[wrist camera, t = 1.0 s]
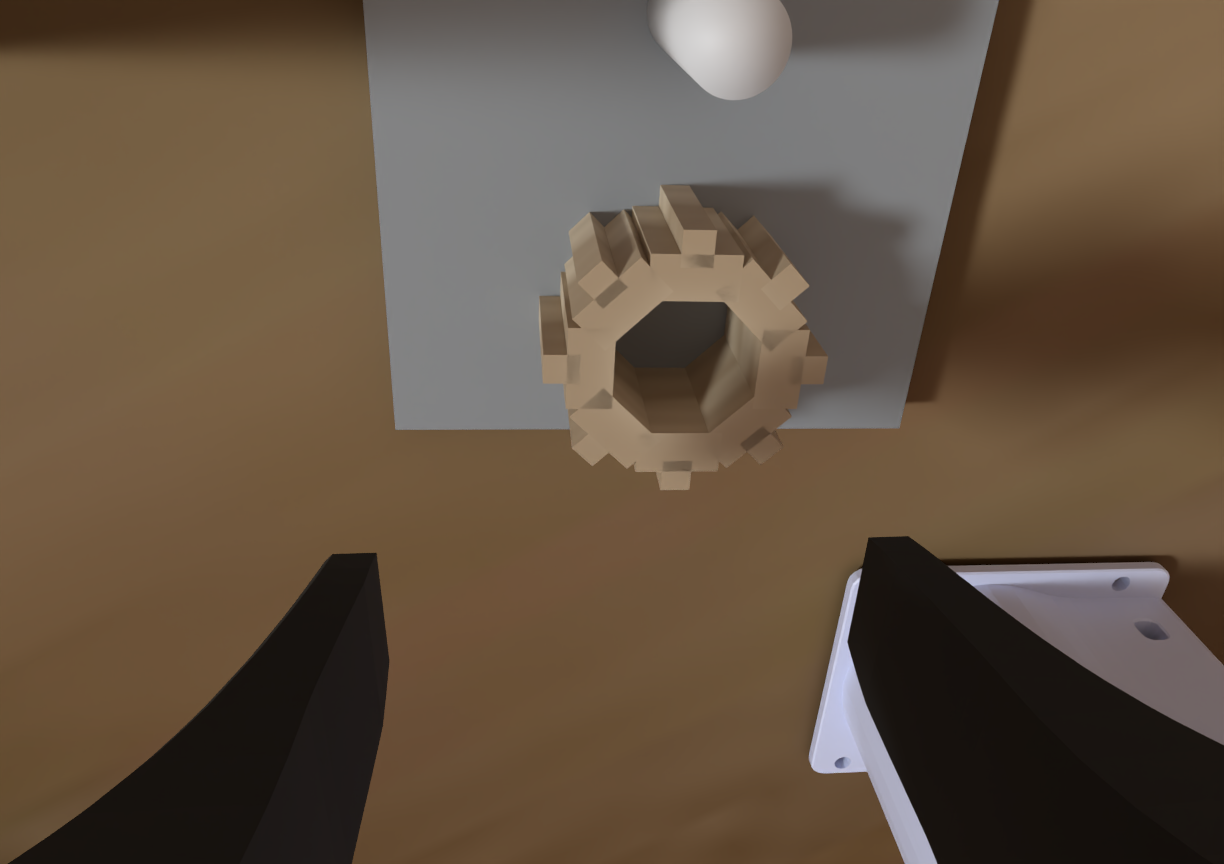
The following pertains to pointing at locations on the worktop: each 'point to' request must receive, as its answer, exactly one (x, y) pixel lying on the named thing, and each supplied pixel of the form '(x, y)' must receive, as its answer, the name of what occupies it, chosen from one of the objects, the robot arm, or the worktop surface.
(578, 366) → the loose gear
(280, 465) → the worktop surface
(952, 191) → the gear board
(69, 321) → the worktop surface
